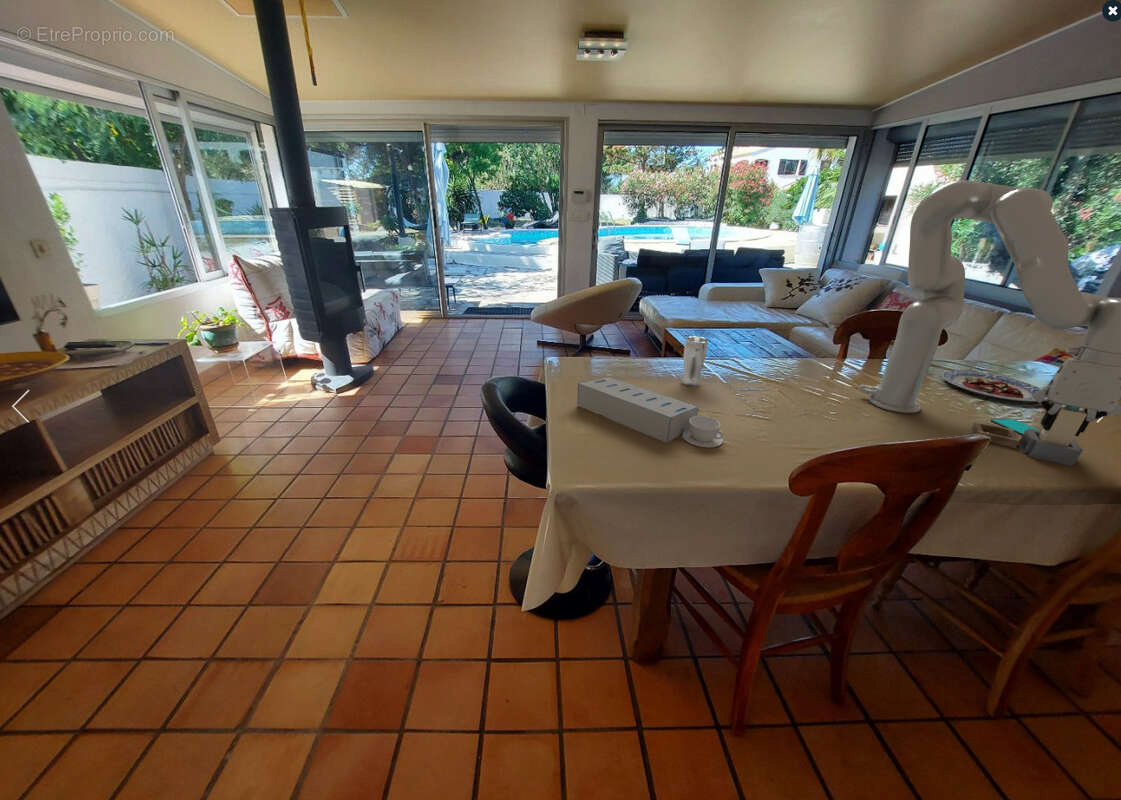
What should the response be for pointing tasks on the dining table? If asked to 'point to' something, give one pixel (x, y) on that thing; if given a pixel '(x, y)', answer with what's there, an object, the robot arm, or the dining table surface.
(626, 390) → the slotted grey box
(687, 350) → the beer glass
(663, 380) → the dining table surface
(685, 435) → the teacup
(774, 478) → the dining table surface
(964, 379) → the ceramic plate
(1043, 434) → the plug
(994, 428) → the holster
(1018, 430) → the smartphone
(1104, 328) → the robot arm
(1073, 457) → the socket
